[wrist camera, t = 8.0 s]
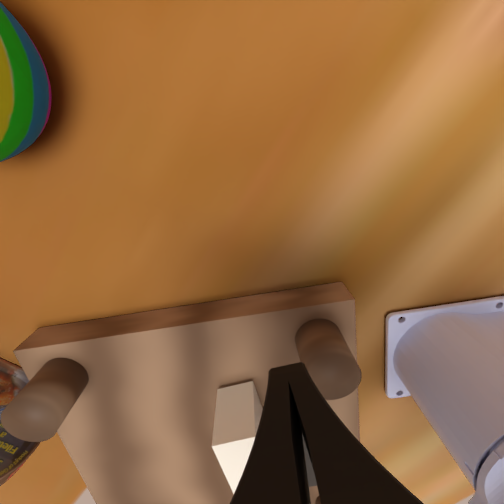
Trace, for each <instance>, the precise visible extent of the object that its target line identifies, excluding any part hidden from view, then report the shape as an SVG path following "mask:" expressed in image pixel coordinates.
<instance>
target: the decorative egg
mask: <svg viewBox="0 0 504 504" xmlns="http://www.w3.org/2000/svg"><path fill="white" fill-rule="evenodd" d="M51 97H52V95H51V86H50V81H49V77H48V74H47V71H46V68H45V65H44V62H43V60H42V58H41V56H40V54H39V52H38V50H37V48H36V47H35V45H34V43H33V41H32V40H31V38H30V37H29V35H28V34H27V32H26V31H25V30H24V28H23V27H22V26H21V25H20V23H19V22H18V21H17V20H16V19H15V17H14V16H13V15H12V14H11V13H10V12H9V11H8V10H7V9H6V7H5V6H4V5H3V4H2V3H0V162H1V161H4V160H6V159H9V158H11V157H13V156H15V155H17V154H19V153H21V152H22V151H24V150H25V149H27V148H28V147H29V146H30V145H31V144H33V143H34V142H35V140H36V139H37V138H38V137H39V135H40V134H41V133H42V131H43V130H44V128H45V126H46V124H47V121H48V118H49V115H50V110H51Z"/></svg>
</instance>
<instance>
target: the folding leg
mask: <svg viewBox="0 0 504 504" xmlns="http://www.w3.org/2000/svg"><path fill="white" fill-rule="evenodd" d="M262 410H263V409H262V406H261V403H260V400H259V397H258V394H257V391H256V389H255V386H254V383H253V381H250V382H246V383H242V384H238V385H233V386H229V387H225V388H221V389H218V390H217V400H216V409H215V419H214V429H213V439H212V448H213V450H214V453H215V455H216V457H217V459H218V461H219V463H220V466H221V468H222V470H223V472H224V474H225V476H226V479H227V481H228V483H229V485H230V487H231V489H232V492H233V494H234V493H235V490H236V488H237V486H238V483H239V481H240V479H241V476H242V474H243V471H244V468H245V466H246V463H247V461H248V458H249V455H250V452H251V449H252V446H253V443H254V440H255V436H256V433H257V429H258V426H259V423H260V419H261V415H262Z"/></svg>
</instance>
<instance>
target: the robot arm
mask: <svg viewBox="0 0 504 504" xmlns="http://www.w3.org/2000/svg"><path fill="white" fill-rule="evenodd" d="M497 303H498V304H497ZM496 304H497V305H496ZM400 317H402V319H400V320H398V319H399V318H400ZM385 393H386V395H387V396H388V397H389V398H399V397H406V396H412V398H413V399H414V401H415V402H416V404H417V405H418V406H419V408H420V409H421V411H422V412H423V414H424V415H425V417H426V418H427V420H428V421H429V423H430V424H431V426H432V427H433V429H434V430H435V432H436V433H437V435H438V436H439V438H440V439H441V441H442V442H443V444H444V445H445V447H446V448H447V449H448V451H449V452H450V454H451V455H452V457H453V458H454V460H455V461H456V463H457V464H458V466H459V467H460V469H461V470H462V472H463V473H464V475H465V476H466V478H467V479H468V481H469V482H470V484H471V485H472V487H473V488H474V490H475V491H476V492H475V494H474V496H473V497H472V498H471V499H470V500H469V502H468V503H469V504H504V296H499V297H493V298H486V299H479V300H473V301H466V302H459V303H453V304H446V305H439V306H433V307H426V308H419V309H413V310H406V311H399V312H393V313H390V314H388V315H387V317H386V358H385ZM302 434H303V437H304V441H305V444H306V447H307V450H308V454H309V457H310V460H311V464H312V467H313V470H314V474H315V478H316V483H317V487H318V492H319V497H320V502H321V504H424V503H422V502H421V501H420V500H419V499H418V498H417V497H416V496H414V495H413V494H412V493H411V492H410V491H409V490H408V489H407V488H406V487H404V486H403V485H402V484H401V483H400V482H399V481H398V480H397V479H396V478H395V477H394V476H393V475H392V474H391V473H390V472H389V471H387V470H386V469H385V468H384V467H383V466H382V465H381V464H380V463H379V462H378V461H377V460H376V459H375V458H374V457H373V456H372V455H371V454H370V453H369V452H368V450H367V449H366V448H365V447H364V446H363V445H362V444H361V443H360V442H359V441H358V440H357V439H356V437H355V436H354V435H353V434H352V433H351V432H350V430H349V429H348V428H347V427H346V426H345V425H344V423H343V422H342V421H341V420H340V418H339V417H338V416H337V415H336V413H335V412H334V411H333V409H332V408H331V407H330V405H329V404H328V403H327V401H326V400H325V398H324V397H323V396H322V394H321V393H320V391H319V390H318V388H317V386H316V385H315V383H314V382H313V380H312V378H311V376H310V375H309V373H308V371H307V368H306V366H305V364H304V363H302V362H298V363H294V364H289V365H285V366H280V367H276V368H271V369H270V370H269V372H268V384H267V391H266V396H265V402H264V406H263V410H262V415H261V419H260V423H259V426H258V429H257V433H256V436H255V440H254V443H253V446H252V449H251V452H250V455H249V458H248V461H247V463H246V466H245V468H244V471H243V474H242V476H241V479H240V481H239V483H238V486H237V488H236V490H235V493H234V495H233V497H232V500H231V502H230V504H311V500H310V492H309V484H308V476H307V468H306V460H305V453H304V445H303V437H302Z"/></svg>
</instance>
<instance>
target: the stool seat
mask: <svg viewBox="0 0 504 504" xmlns="http://www.w3.org/2000/svg"><path fill="white" fill-rule="evenodd" d="M13 352H14V354H15V356H16V358H17V359H18V361H19V363H20V365H21V367H22V369H23V370H24V372H25V374H26V376H27V378H28V380H29V382H28V383H27V384H26V385H25V386H24V388H23V389H22V390H21V391H20V392H19V393H18V394H17V395H16V396H15V398H14V399H13V400H12V401H11V402H10V403H9V404H8V405H7V406H6V407H5V409H4V410H3V411H2V413H1V423H2V425H3V427H4V428H5V430H6V431H7V432H8V433H10V434H11V435H12V436H14V437H16V438H18V439H21V440H24V441H29V442H41V441H45V440H48V439H50V438H52V437H53V436H54V435H55V433H56V432H57V433H58V434H59V436H60V438H61V440H62V442H63V444H64V445H65V447H66V449H67V451H68V453H69V455H70V456H71V458H72V460H73V462H74V464H75V466H76V467H77V469H78V471H79V473H80V475H81V477H82V478H83V480H84V482H85V484H86V486H87V488H88V489H89V491H90V493H91V495H92V496H93V499H94V500H95V502H96V504H230V502H231V500H232V497H233V495H234V494H233V492H232V489H231V487H230V485H229V483H228V481H227V479H226V476H225V474H224V472H223V470H222V468H221V466H220V463H219V461H218V459H217V457H216V455H215V453H214V450H213V448H212V439H213V429H214V419H215V409H216V400H217V390H218V389H221V388H225V387H229V386H233V385H238V384H242V383H246V382H250V381H253V383H254V386H255V389H256V391H257V394H258V397H259V400H260V403H261V406H262V409H263V406H264V402H265V396H266V391H267V384H268V372H269V370H270V369H271V368H276V367H280V366H285V365H289V364H294V363H298V362H302V363H304V364H305V366H306V368H307V371H308V373H309V375H310V376H311V378H312V380H313V382H314V383H315V385H316V386H317V388H318V390H319V391H320V393H321V394H322V396H323V397H324V398H325V400H326V401H327V403H328V404H329V405H330V407H331V408H332V409H333V411H334V412H335V413H336V415H337V416H338V417H339V418H340V420H341V421H342V422H343V423H344V425H345V426H346V427H347V428H348V429H349V430H350V432H351V433H352V434H353V435H354V436H355V437H356V439H357V440H358V441H359V442H360V433H359V404H358V385H359V383H360V381H361V370H360V368H359V366H358V364H357V347H356V318H355V299H354V298H353V296H352V295H351V293H350V292H349V291H348V289H347V288H346V287H345V285H344V284H343V282H336V283H330V284H323V285H316V286H310V287H303V288H297V289H290V290H284V291H277V292H271V293H264V294H258V295H251V296H245V297H238V298H231V299H225V300H218V301H212V302H205V303H199V304H192V305H186V306H179V307H173V308H166V309H159V310H153V311H146V312H140V313H133V314H127V315H120V316H114V317H107V318H101V319H94V320H88V321H81V322H74V323H68V324H61V325H55V326H48V327H42V328H38V329H37V330H36V331H35V332H34V333H33V334H31V335H30V336H29V337H28V338H27V339H26V340H25V341H24V342H23V343H21V344H20V345H19V346H18V347H17V348H16V349H15V350H14V351H13ZM302 437H303V434H302ZM303 445H304V453H305V460H306V468H307V476H308V484H309V492H310V500H311V504H321V502H320V497H319V492H318V487H317V483H316V478H315V474H314V470H313V467H312V464H311V460H310V457H309V454H308V450H307V447H306V444H305V441H304V437H303Z"/></svg>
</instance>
